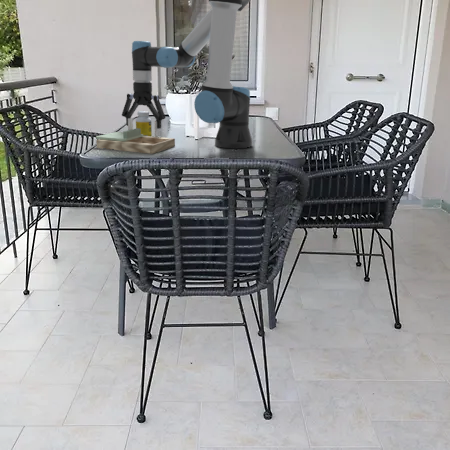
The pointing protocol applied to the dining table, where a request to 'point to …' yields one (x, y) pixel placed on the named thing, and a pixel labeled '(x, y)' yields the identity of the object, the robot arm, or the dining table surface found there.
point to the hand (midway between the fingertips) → (143, 135)
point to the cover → (122, 135)
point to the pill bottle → (144, 123)
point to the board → (138, 144)
